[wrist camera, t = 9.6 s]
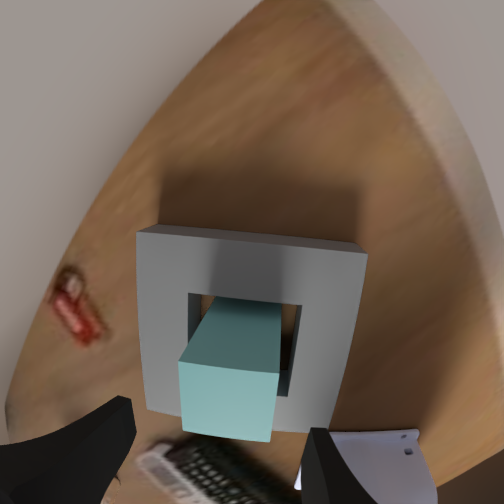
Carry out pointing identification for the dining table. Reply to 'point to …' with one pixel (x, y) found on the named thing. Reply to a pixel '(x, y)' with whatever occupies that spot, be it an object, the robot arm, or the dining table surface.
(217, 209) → the dining table surface
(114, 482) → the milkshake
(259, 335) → the peg
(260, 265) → the socket block
